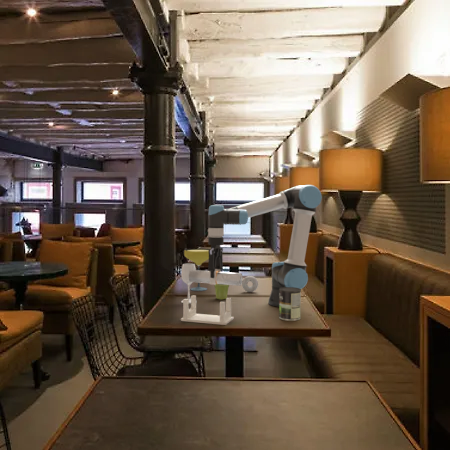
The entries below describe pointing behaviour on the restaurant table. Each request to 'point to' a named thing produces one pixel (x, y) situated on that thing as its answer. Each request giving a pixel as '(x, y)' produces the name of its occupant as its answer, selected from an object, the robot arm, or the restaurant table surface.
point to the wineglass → (187, 276)
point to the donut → (247, 279)
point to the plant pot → (221, 291)
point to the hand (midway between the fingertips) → (215, 283)
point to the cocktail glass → (197, 261)
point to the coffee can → (289, 303)
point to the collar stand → (191, 314)
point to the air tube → (221, 277)
